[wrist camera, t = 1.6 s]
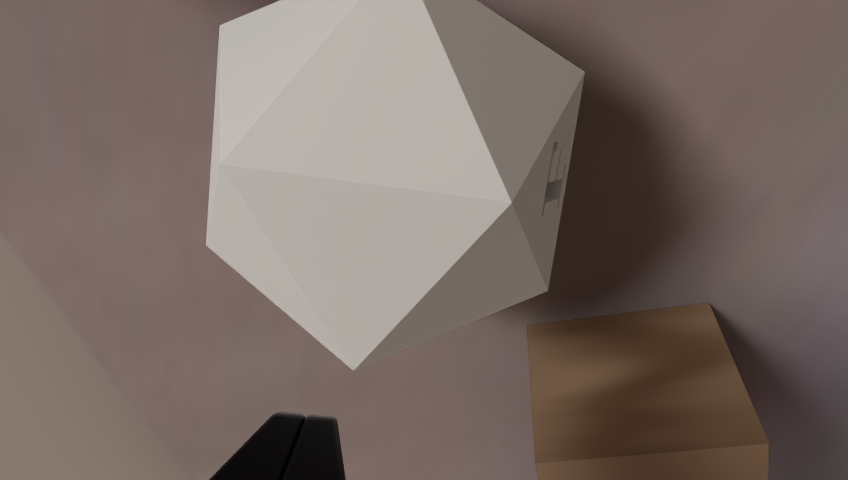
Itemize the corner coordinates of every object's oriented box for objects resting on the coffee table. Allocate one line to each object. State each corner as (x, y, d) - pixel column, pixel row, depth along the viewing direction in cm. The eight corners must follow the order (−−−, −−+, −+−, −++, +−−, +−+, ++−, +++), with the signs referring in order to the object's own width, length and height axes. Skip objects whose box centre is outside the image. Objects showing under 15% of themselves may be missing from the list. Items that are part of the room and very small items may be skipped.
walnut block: (708, 301, 23) (769, 443, 18) (711, 427, 26) (764, 580, 21) (526, 324, 24) (535, 463, 19) (550, 442, 27) (562, 590, 22)
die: (426, 271, 24) (644, 397, 15) (150, 277, 19) (243, 457, 11) (460, 15, 22) (726, -2, 14) (164, -44, 18) (288, -123, 9)
